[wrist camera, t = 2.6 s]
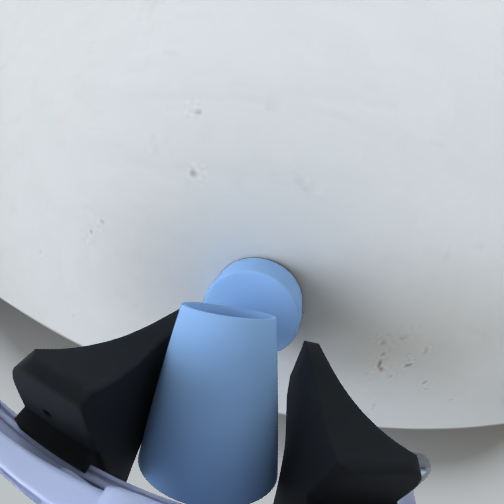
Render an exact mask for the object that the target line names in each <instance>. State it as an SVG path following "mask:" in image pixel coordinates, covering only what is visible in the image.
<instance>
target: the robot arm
mask: <svg viewBox="0 0 504 504" xmlns="http://www.w3.org/2000/svg"><path fill="white" fill-rule="evenodd" d="M179 310H180V309H179ZM179 310H177V311H175V312H173V313H171V314H169V315H168V316H166V317H164V318H162V319H160V320H158V321H157V322H155V323H153V324H151V325H149V326H147V327H145V328H142V329H140V330H138V331H136V332H133V333H131V334H129V335H126V336H123V337H120V338H117V339H114V340H111V341H107V342H103V343H99V344H94V345H90V346H84V347H77V348H68V349H35V350H34V351H33V352H31V353H30V354H29V355H28V356H27V357H26V358H25V359H23V360H22V361H21V362H20V363H19V364H18V365H17V366H15V367H14V369H13V380H14V383H15V385H16V387H17V390H18V392H19V394H20V397H21V399H22V400H23V403H24V405H25V407H24V408H23V410H22V411H21V412H20V413H19V414H18V415H17V414H16V413H15V412H14V411H12V410H11V409H10V408H9V407H8V406H6V405H5V404H4V403H3V402H2V401H1V400H0V473H1V474H2V475H3V476H4V477H5V478H7V479H8V480H9V481H10V482H11V483H12V484H13V485H14V486H16V487H17V488H18V489H19V490H20V491H21V492H23V493H24V494H25V495H26V496H28V497H29V498H30V499H31V500H33V501H34V502H35V503H37V504H181V503H178V502H175V501H172V500H169V499H166V498H163V497H160V496H158V495H155V494H152V493H150V492H148V491H145V490H143V489H140V488H138V487H136V486H133V485H131V484H129V483H126V481H127V479H128V476H129V473H130V471H131V468H132V465H133V463H134V460H135V457H136V455H137V452H138V450H139V448H140V445H141V443H142V439H143V435H144V431H145V427H146V424H147V420H148V416H149V412H150V408H151V405H152V401H153V397H154V393H155V390H156V386H157V383H158V379H159V376H160V372H161V369H162V365H163V362H164V358H165V355H166V352H167V348H168V345H169V342H170V338H171V335H172V332H173V329H174V326H175V322H176V319H177V316H178V313H179ZM425 473H426V469H420V466H419V462H418V458H417V455H415V454H414V453H412V452H410V451H409V450H407V449H406V448H404V447H402V446H401V445H399V444H398V443H397V442H395V441H394V440H393V439H391V438H390V437H389V436H387V435H386V434H385V433H384V432H382V431H381V430H380V429H379V428H378V427H377V426H376V425H375V424H374V423H373V422H372V421H371V420H370V419H369V418H368V417H367V416H366V415H365V414H364V413H363V412H362V411H361V410H360V409H359V407H358V406H357V405H356V404H355V403H354V401H353V400H352V399H351V397H350V396H349V395H348V393H347V392H346V390H345V389H344V388H343V386H342V385H341V383H340V381H339V380H338V378H337V377H336V375H335V373H334V371H333V370H332V368H331V366H330V364H329V362H328V360H327V359H326V357H325V355H324V353H323V351H322V349H321V347H320V345H319V344H317V343H312V342H308V341H304V343H303V346H302V348H301V351H300V353H299V356H298V358H297V361H296V363H295V366H294V368H293V371H292V373H291V376H290V381H289V387H288V393H287V411H286V440H285V449H284V456H283V461H282V467H281V472H280V477H279V481H278V486H277V490H276V495H275V499H274V503H273V504H416V502H415V497H414V491H413V489H414V488H415V487H417V486H418V484H419V483H420V481H421V480H422V475H423V474H425Z"/></svg>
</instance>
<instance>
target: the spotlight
mask: <svg viewBox="0 0 504 504" xmlns="http://www.w3.org/2000/svg"><path fill="white" fill-rule="evenodd" d="M302 316H303V312H302V293H301V290H300V287H299V285H298V283H297V281H296V280H295V278H294V277H293V276H292V274H291V273H290V272H289V271H288V270H286V269H285V268H284V267H282V266H281V265H279V264H277V263H275V262H273V261H270V260H267V259H262V258H246V259H242V260H238V261H236V262H234V263H232V264H230V265H229V266H228V267H226V268H225V269H224V270H223V271H222V272H221V274H220V275H219V276H218V277H217V279H216V280H215V281H214V282H213V284H212V285H211V286H210V288H209V289H208V291H207V293H206V295H205V298H204V303H199V302H184V303H182V304H181V307H180V310H179V313H178V316H177V319H176V322H175V326H174V329H173V332H172V335H171V338H170V342H169V345H168V348H167V352H166V355H165V358H164V362H163V365H162V369H161V372H160V376H159V379H158V383H157V386H156V390H155V393H154V397H153V401H152V405H151V408H150V412H149V416H148V420H147V424H146V427H145V431H144V435H143V439H142V443H141V448H140V452H139V457H138V463H139V468H140V470H141V472H142V474H143V476H144V477H145V478H146V480H147V481H148V482H149V483H150V484H151V485H152V486H153V487H155V488H156V489H157V490H159V491H160V492H161V493H163V494H165V495H167V496H168V497H170V498H173V499H175V500H177V501H180V502H183V503H186V504H250V503H253V502H255V501H257V500H259V499H261V498H263V497H264V496H265V495H267V494H268V493H269V492H270V491H271V489H272V488H273V487H274V486H275V484H276V481H277V475H278V473H277V472H278V471H277V470H278V375H277V352H278V351H280V350H282V349H283V348H285V347H286V346H287V345H289V344H290V343H291V341H292V340H293V339H294V337H295V336H296V334H297V332H298V329H299V326H300V319H302Z"/></svg>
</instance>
